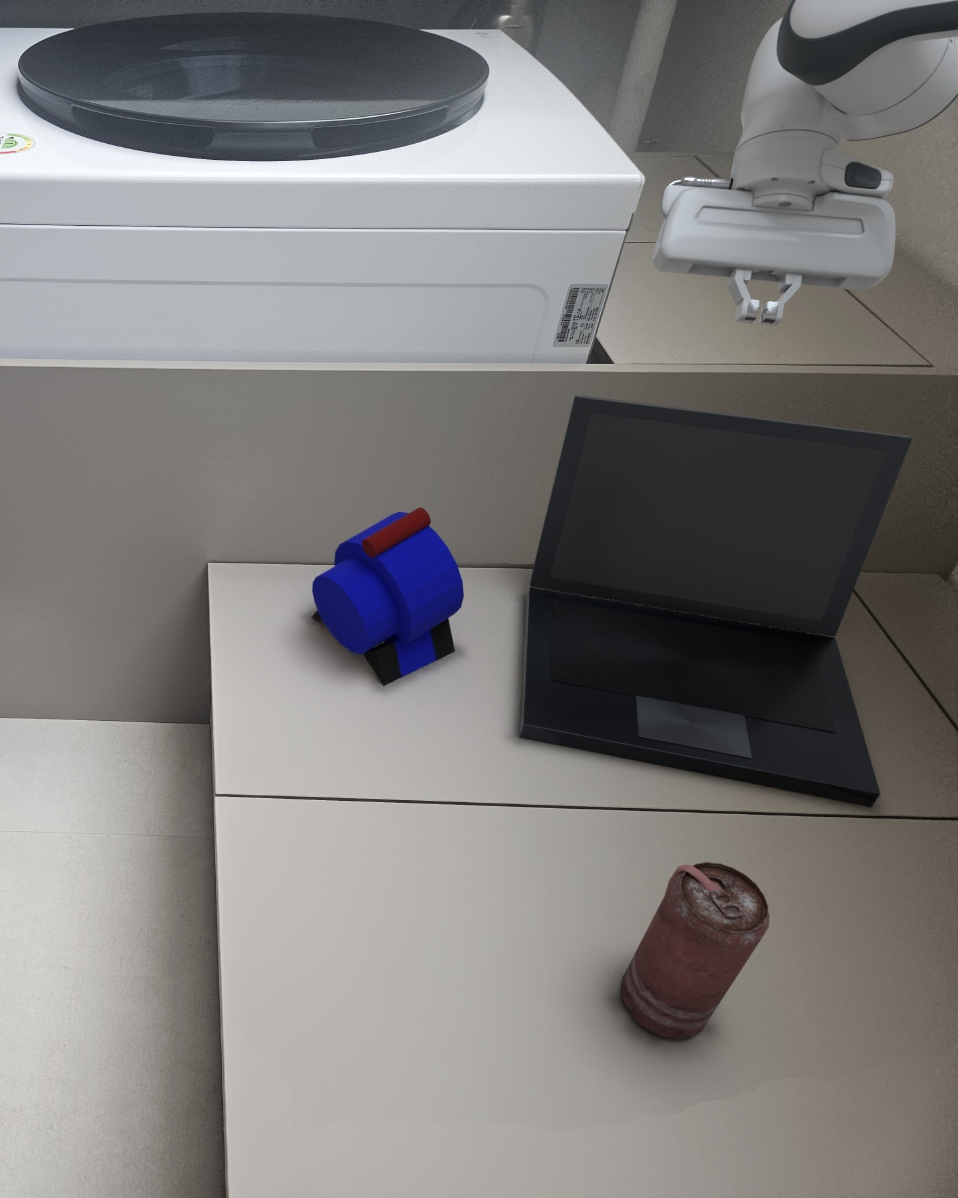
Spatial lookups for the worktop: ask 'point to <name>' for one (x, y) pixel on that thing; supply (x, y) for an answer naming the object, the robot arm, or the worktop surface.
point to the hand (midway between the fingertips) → (757, 322)
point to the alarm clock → (392, 595)
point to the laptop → (693, 695)
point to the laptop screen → (715, 512)
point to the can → (694, 948)
